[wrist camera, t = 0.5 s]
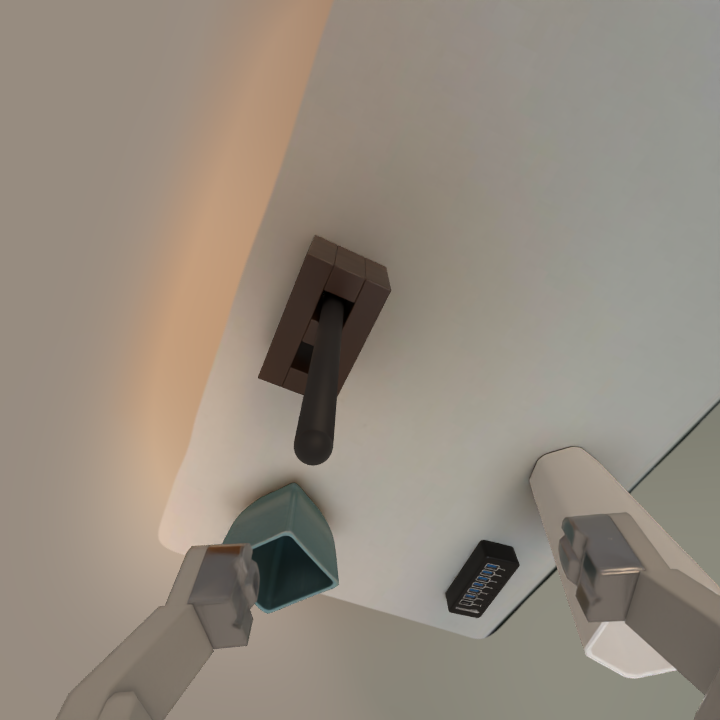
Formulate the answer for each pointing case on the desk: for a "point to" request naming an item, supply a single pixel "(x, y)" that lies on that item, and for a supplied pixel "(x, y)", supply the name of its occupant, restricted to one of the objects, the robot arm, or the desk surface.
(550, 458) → the cup
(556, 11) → the desk surface
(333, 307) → the stylus
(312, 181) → the desk surface
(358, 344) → the pen stand
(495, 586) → the multiport hub
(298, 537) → the flower pot
